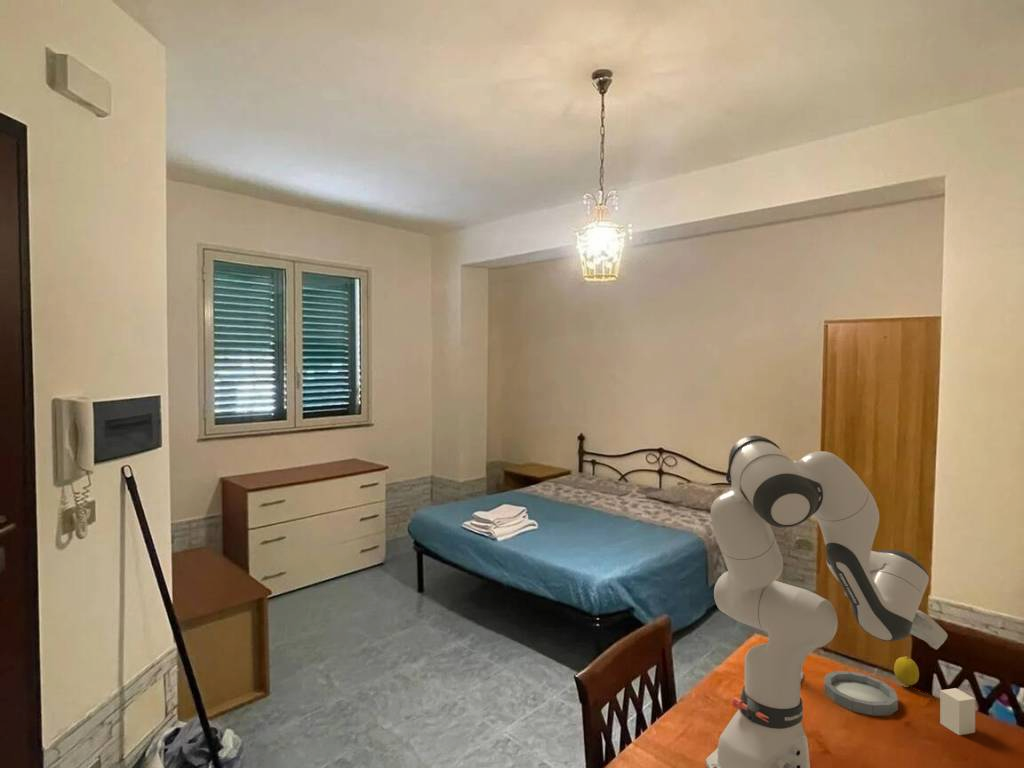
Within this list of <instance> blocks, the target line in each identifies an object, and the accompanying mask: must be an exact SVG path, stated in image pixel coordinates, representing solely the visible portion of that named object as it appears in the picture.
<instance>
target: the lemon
mask: <svg viewBox="0 0 1024 768" xmlns="http://www.w3.org/2000/svg"><path fill="white" fill-rule="evenodd" d="M893 671H894V674H895V675H894V676H895V677H896V679H897V680H898V681H899V682H900V683H901V684H903V685H904V686H905V687H909V686H913V685H916V684H917V682H918V681H919V678H920V671H919V667H918V664H917V663H916V662H915V661H914V660H913V659H912V658H909V656H901V657H898V658H896V660H895V662H894V666H893Z"/></svg>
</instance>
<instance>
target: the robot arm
mask: <svg viewBox="0 0 1024 768" xmlns="http://www.w3.org/2000/svg"><path fill="white" fill-rule="evenodd" d="M725 480H726V482H727V484H729V486H730V489H729V490H728V491H727V492H725V493H722V494H720V495H718V497H716V498H715V499H714V501H713V502H712V504H711V507H710V518H711V524H712V529H713V533H714V536H715V539H716V542H717V544H718V548H719V551H720V553H721V555H722V557H723V561H724V563H725V566H726V568H727V569H726V570H727V571H725V572H724V573H722V574H721V575H720V576H719V577H718V578H717V580H716V582H715V585H714V589H713V596H714V602H715V604H716V606H717V608H718V610H719V611H720V612H722V613H724V614H725V615H727V616H728V617H730V618H732V619H734V620H736V622H739V623H740V624H744V625H746V626H750V627H752V628H755V629H757V630H759V631H764V632H765V633H767V636H768V642H764V643H761V644H756V645H753V646H752V647H750V648H749V649H748V651H746V654H745V656H744V685H743V687H742V691H741V693H740V698H738V697H737V696H734V697H733V698H732V699H731V701H730V702H731V705H732V707H734V708H737V711H736V712H735V713H734V715H733V717H732V718H731V719H730V721H729V723H727V726H726V727H725V729H724V730H723V731H722V732H721V734H720V736H719V739H718V743H717V744H718V745H717V748H716V749H715V750H714V751H713V752H712V753H710V755H708V757H706V759H705V765H706V767H707V768H811V765H810V753H809V752H810V751H809V742H808V737H807V734H806V733H805V730H804V727H803V723H802V721H803V719H804V718H803V713H804V706H803V700H802V697H801V682H802V681H801V671H802V672H803V670H802V669H803V666H804V663H805V660H806V659H807V657H808V656H809V655H810V654H811V653H812V652H813V651H815V650H817V649H819V648H823V647H825V646H826V645H828V644H830V642H831V641H832V640H833V639H834V637H835V635H836V634H837V633H836V632H837V630H838V616H837V613H836V610H835V608H834V605H832V603H831V602H830V601H829V600H828V599H826V598H824V597H822V596H820V595H819V594H817V593H814V592H812V591H811V590H809V589H806V588H801V587H798V586H795V585H791V584H788V583H785V582H783V581H782V582H778V581H776V579H777V578H778V577H779V576H780V574H781V572H782V573H783V568H784V558H783V555H782V553H781V551H780V547H779V545H778V542H777V540H776V537H775V535H774V532H773V529H772V527H771V526H773V527H774V528H780V529H781V528H782V529H787V528H791V527H792V528H793V527H794V526H797V525H801V524H802V523H804V522H805V521H807V520H809V519H810V518H811V517H812V516H813V515H814V517H815V519H816V521H817V523H818V525H819V528H820V531H821V535H822V537H823V538H822V539H823V542H824V545H825V546H824V547H825V552H826V559H825V560H826V565H827V567H828V569H829V571H830V572H831V573H832V575H833V576H834V578H835V579H836V580H837V581H838V582H839V584H840V585H841V587H842V589H843V592H844V595H845V596H846V597H847V599H848V601H849V603H850V605H851V611H852V614H853V617H854V619H855V620H856V622H857V624H858V625H859V627H860V628H861V629H862V630H863V631H865V632H866V633H867V634H869V635H870V636H872V637H874V638H876V639H878V640H879V641H883V642H897V641H901V640H903V639H906V638H908V637H910V635H912V636H914V637H916V638H918V639H920V640H923V641H924V642H925V643H927V645H928V646H929V647H931V648H933V649H934V650H938V649H939V648H940V647H941V646H942V645H943V644H944V643H945V641H946V640H947V639H948V633H947V632H946V631H945V630H944V629H943V627H941V626H940V625H939V623H937V622H936V621H935V620H934V619H933V618H931V616H929V615H928V614H926V613H925V612H923V611H921V610H920V609H919V607H920V604H921V602H922V600H923V596H924V594H925V592H926V589H927V587H928V584H929V581H930V575H929V573H928V571H927V569H926V568H925V567H924V566H923V565H922V564H921V563H920V561H918V559H916V558H915V557H913V556H912V555H910V554H908V553H906V552H904V551H902V550H900V551H899V550H895V549H885V550H876V551H874V550H872V549H873V544H874V542H875V537H876V535H877V531H878V528H879V525H880V511H879V508H878V506H877V502H876V499H875V498H874V496H873V494H872V493H871V491H870V490H869V488H868V487H867V486H866V485H865V483H864V482H863V481H862V479H861V478H860V477H859V476H858V474H857V473H856V472H855V471H854V470H853V469H852V468H851V466H849V465H848V464H847V463H846V462H845V461H844V460H843V459H841V458H840V456H837V455H836V454H834V453H832V452H829V451H825V450H824V451H821V450H817V451H813V452H810V453H807V454H806V455H803V457H801V458H800V459H799V460H792V459H790V457H789V456H788V455H786V453H784V451H782V450H781V448H780V447H779V446H778V445H777V444H776V443H775V442H774V441H773V440H771V439H769V438H767V437H763V436H761V435H748V436H745V437H742V438H740V439H739V440H738V441H736V443H734V444H733V446H732V448H731V450H730V452H729V456H728V467H727V471H726V476H725Z"/></svg>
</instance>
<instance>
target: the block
mask: <svg viewBox="0 0 1024 768" xmlns="http://www.w3.org/2000/svg"><path fill="white" fill-rule="evenodd" d="M939 692H940V693H939V702H940V703H939V705H940V706H939V709H940V711H939V713H940V714H939V720H940V721H939V724H941V726H944V727H945V728H947V729H948V730H950V731H951V732H953V733H954V734H956V735H958V736H963V735H969V734H974V733H976V698H975V697H974V696H971V695H969V694H967V693H966V692H964V691H962V690H961V689H958V688H957V687H954V688H949V689H948V688H947V689H941V690H939Z"/></svg>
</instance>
